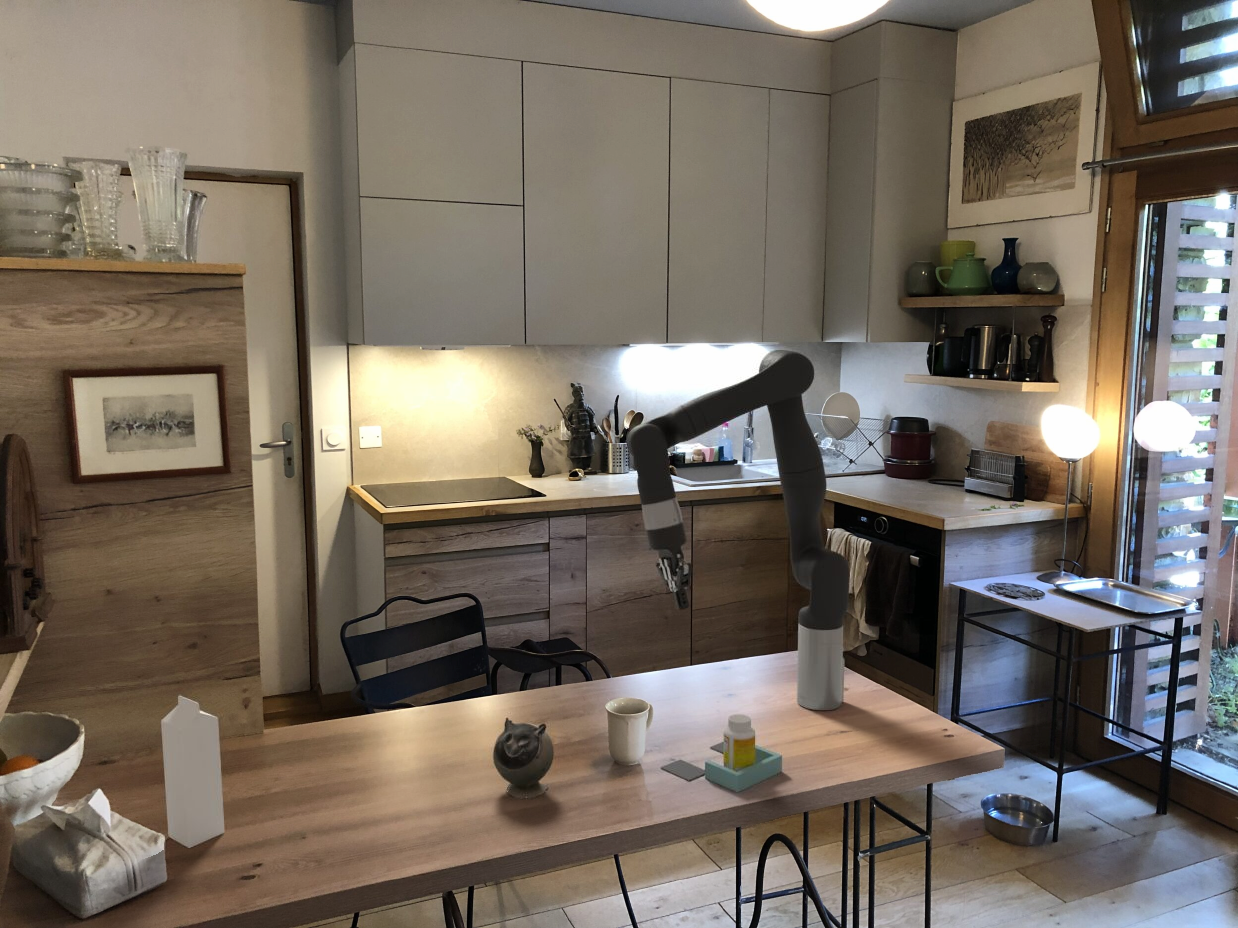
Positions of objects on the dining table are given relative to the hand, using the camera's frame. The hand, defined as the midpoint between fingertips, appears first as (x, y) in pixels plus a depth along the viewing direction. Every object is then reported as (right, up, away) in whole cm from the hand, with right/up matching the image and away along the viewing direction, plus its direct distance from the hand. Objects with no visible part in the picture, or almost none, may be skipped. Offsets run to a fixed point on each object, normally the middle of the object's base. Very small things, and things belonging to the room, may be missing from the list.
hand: (682, 608), depth 191 cm
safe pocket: (+9, -26, -20) cm, 34 cm away
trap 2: (+9, -25, -10) cm, 28 cm away
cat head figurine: (-29, -27, -25) cm, 47 cm away
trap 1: (-1, -26, -18) cm, 32 cm away
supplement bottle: (+9, -27, -20) cm, 34 cm away
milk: (-79, -29, -40) cm, 93 cm away
